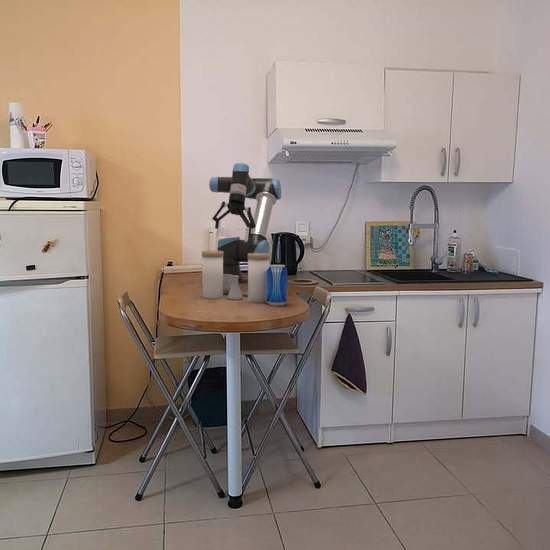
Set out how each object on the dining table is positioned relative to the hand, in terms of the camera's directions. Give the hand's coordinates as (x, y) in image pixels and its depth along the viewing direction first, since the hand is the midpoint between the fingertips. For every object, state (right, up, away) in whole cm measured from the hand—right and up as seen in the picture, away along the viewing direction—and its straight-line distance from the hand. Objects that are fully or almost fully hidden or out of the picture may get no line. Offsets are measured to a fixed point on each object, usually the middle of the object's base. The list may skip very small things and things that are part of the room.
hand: (231, 238), depth 249 cm
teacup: (-5, -25, +4) cm, 25 cm away
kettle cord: (+5, -26, -8) cm, 28 cm away
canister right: (+13, -28, -19) cm, 36 cm away
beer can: (+20, -29, -26) cm, 44 cm away
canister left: (-8, -26, -10) cm, 29 cm away
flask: (+3, -27, -14) cm, 31 cm away
